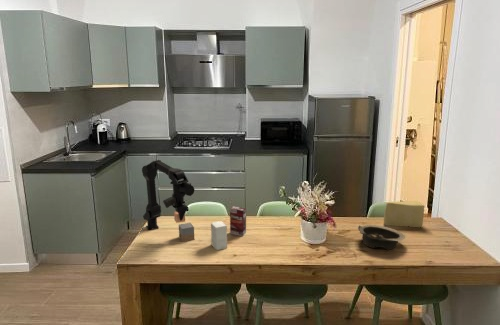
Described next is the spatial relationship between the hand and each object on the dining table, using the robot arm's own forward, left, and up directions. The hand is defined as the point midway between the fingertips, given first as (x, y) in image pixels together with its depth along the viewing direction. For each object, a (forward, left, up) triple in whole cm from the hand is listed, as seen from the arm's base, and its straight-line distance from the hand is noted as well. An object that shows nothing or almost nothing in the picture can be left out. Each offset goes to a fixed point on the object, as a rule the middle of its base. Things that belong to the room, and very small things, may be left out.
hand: (179, 218), depth 215 cm
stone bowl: (+53, +99, -13) cm, 113 cm away
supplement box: (+7, +33, -13) cm, 36 cm away
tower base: (0, +3, -13) cm, 13 cm away
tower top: (0, +3, -9) cm, 9 cm away
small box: (+18, +17, -13) cm, 28 cm away
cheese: (+38, +130, -13) cm, 136 cm away
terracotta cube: (0, 0, -1) cm, 1 cm away
